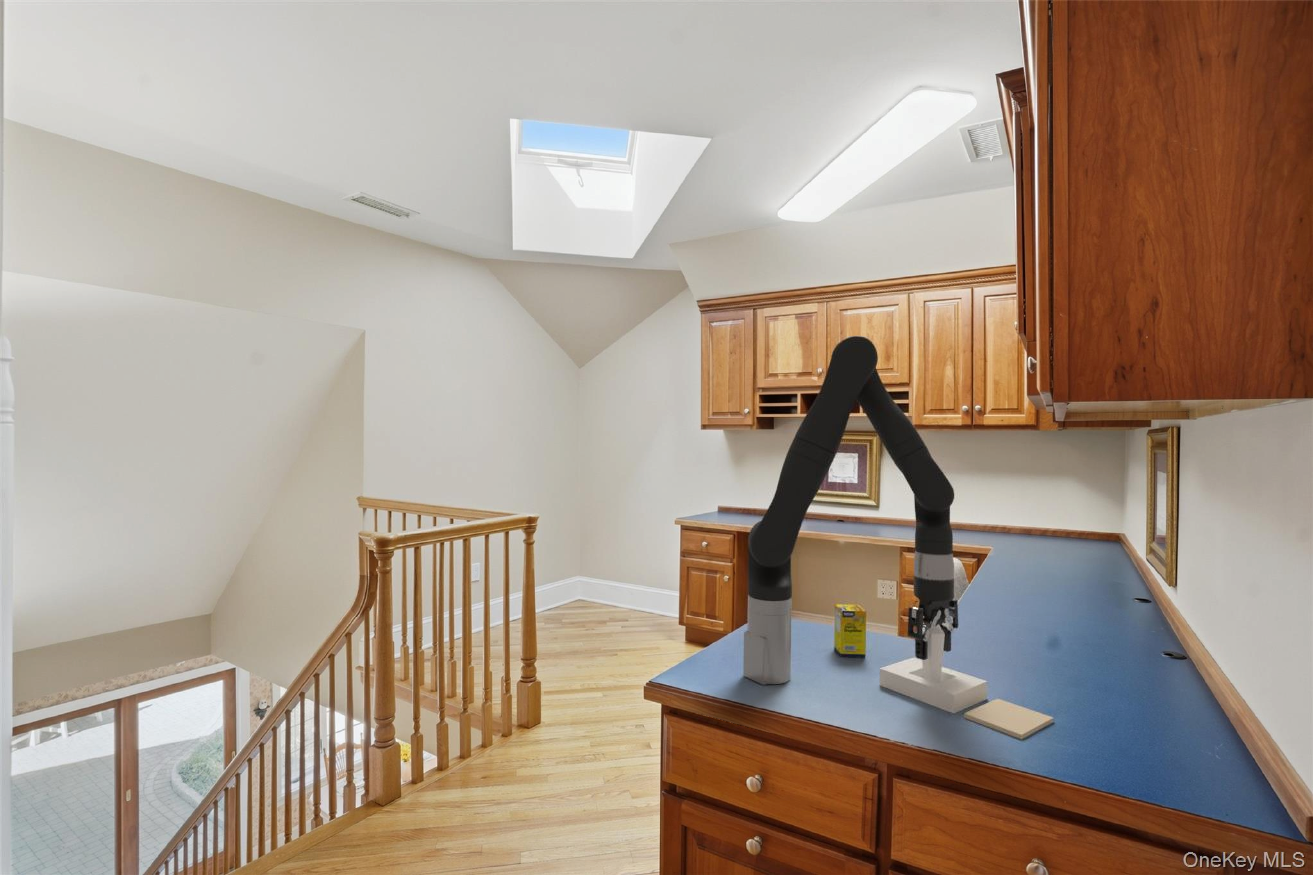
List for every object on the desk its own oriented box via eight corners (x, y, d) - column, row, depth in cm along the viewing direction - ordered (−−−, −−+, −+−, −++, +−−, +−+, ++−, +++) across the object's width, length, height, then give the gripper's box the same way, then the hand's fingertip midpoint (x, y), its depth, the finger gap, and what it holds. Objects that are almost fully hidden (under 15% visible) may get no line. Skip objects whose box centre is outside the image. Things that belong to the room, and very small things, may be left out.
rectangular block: (953, 713, 117) (954, 694, 117) (879, 685, 130) (879, 668, 130) (986, 698, 124) (987, 681, 124) (913, 673, 137) (913, 657, 137)
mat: (1021, 739, 107) (1021, 734, 107) (964, 717, 115) (964, 713, 115) (1053, 721, 114) (1053, 717, 114) (997, 702, 122) (997, 698, 122)
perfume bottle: (917, 692, 126) (918, 618, 126) (922, 685, 130) (923, 613, 130) (942, 698, 124) (943, 622, 124) (946, 691, 127) (947, 617, 127)
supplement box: (866, 657, 146) (866, 611, 146) (840, 657, 146) (841, 610, 146) (858, 649, 152) (859, 604, 152) (833, 648, 152) (834, 603, 152)
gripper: (931, 582, 120) (931, 667, 120) (970, 573, 128) (970, 652, 128) (896, 575, 126) (896, 656, 126) (935, 567, 134) (935, 643, 134)
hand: (933, 654), depth 127 cm, fingers open, 8 cm apart
